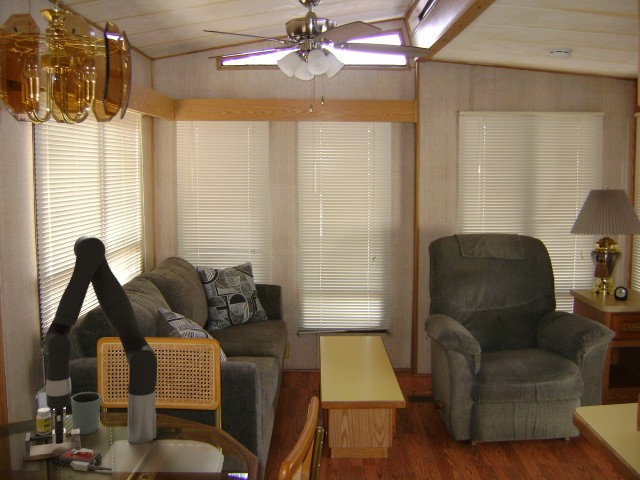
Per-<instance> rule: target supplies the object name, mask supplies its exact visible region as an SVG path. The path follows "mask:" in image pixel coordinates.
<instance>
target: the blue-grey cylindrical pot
mask: <svg viewBox="0 0 640 480" xmlns="http://www.w3.org/2000/svg"><path fill="white" fill-rule="evenodd" d="M101 396H102V395H101V394H100V393H97V392H93V391H84V392H79V393H76V394H74V395H71V404H70V405H71V414H72V415H71V417H72V429H80V435H86V434H87V435H88V434H92V433H94V432H96V431H98V429H99V424H100V423H99V422H100V421H99V417H100V409H101V408H100V407H101V400H102V398H101Z"/></svg>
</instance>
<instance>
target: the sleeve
mask: <svg viewBox="0 0 640 480" xmlns="http://www.w3.org/2000/svg"><path fill="white" fill-rule="evenodd" d="M63 430H64V432H63V443H65V442H67V437H66V432H67V428H65V427H64V429H63ZM51 435H52V439H51V440H52V444H56V434H55V429H52V434H51Z"/></svg>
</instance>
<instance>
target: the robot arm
mask: <svg viewBox="0 0 640 480" xmlns="http://www.w3.org/2000/svg"><path fill="white" fill-rule="evenodd" d="M73 254H74V256H75V262H74V267H73V271H72V274H71V276H70V279H69V281H68V283H67V285H66V287H65V289H64V291H63V293H62V295H61V298H60V300H59V303H58V305H57V308H56V311H55V314H54V318H53V320H52V321H51V322H50V325H49V326H48V329H47V331H46V334H45V336H44V343H45V347H46V348H47V353H48V354H47V355H48V356H47V357H48V362H47V363H46V383H45V384H46V385H45V391H46V393H45V394H46V398H45V399H46V406H47V408H49V409H52V418H53V427H54V430H55V434H56V444H62V443H63V432H64V430H63V429H64V428H65V425H66V413H67V410H66V409H67V408H66V407H68V406H70V405H71V397H72V380H71V367H70V360H71V353H72V342H71V339H70V333H71V330H72V328H73V327H74V326H76V324H77V322H78V319H79V317H80V314H81V312H82V308H83V305H84V302H85V299H86V296H87V293H88V290H89V288H90V285H91V286H92V288H93V292H94V294H95V296H96V299H97V301H98V304H99V306H100V308H101V310H102V313H103V315H104V316H105V318H106V320H107V322H108V324H109V325H110V326H111V328H112V329H113V331H114V332H115V334H116V335H117V337H118V339H119V340H120V342H121V345H122V349H123V351H124V354H125V357H126V361H127V364H128V368H129V370H128V371H129V373H128V374H129V375H128V376H129V378H128V380H129V381H128V385H127V440H128V441H129V442H130V443H132V442H133V444H146V443H149V442H148V441H150V440H152V439H154V438H156V439H157V412H156V387H157V380H158V379H157V378H158V357H157V355H156V353H155V351H154V350H153V348H152V347H151V346H150V344H149V343H148V342H147V340H146V339H145V337H144V335H143V333H142V331H141V329H140V327H139V325H138V319H137V317H136V314H135V310H134V307H133V305H132V303H131V300H130V299H129V296H128V294H127V293H126V291H125V289H124V287H123V286H122V284H121V282H120V281H119V280H118V278H117V276H115V274H114V273H113V271H112V269H111V267H110V265H109V262H108V260H107V258H106V246H105V244H104V242H103V241H102V240H101V239H99V238H98V237H97V236H95V235H92V234H85V235H84V234H83V235H81V236H79V238H77V239H76V241H75V242H74V244H73ZM152 441H153V440H152ZM145 442H146V443H145ZM150 442H151V441H150Z"/></svg>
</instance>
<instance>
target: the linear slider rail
mask: <svg viewBox="0 0 640 480" xmlns="http://www.w3.org/2000/svg"><path fill="white" fill-rule="evenodd" d="M66 432H67V433H66V440H68V439H70V441H66V442H65V443H62V444H53V443H48V444H39V445H32V444H31V443H32V442H35V441H45V440H53V439H52V434H50V435H49V434H46V435H39V436H31V432H26V435H25V439H24V447H25V449H24V455H23V461H24V462H27V461H35V460H41V459H51V458H59V456H60V454H61V453H63V452H64V451H65V450H67V449H74V448H75V449H77V450H81V449H82V447H81V446H82V443H81V441H82V440H81V434H80V429H73V428H72V429H71V431H66Z"/></svg>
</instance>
